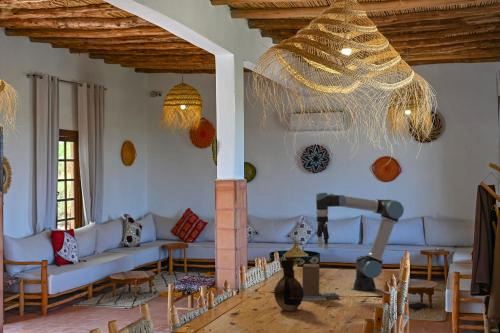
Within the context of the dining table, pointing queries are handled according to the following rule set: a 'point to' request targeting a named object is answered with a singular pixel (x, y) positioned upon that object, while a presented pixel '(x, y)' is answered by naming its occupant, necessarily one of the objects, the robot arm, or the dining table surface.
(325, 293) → the button housing
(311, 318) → the dining table surface
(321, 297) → the shallow gray tray
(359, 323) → the dining table surface
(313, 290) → the wooden block
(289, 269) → the ceramic vessel
